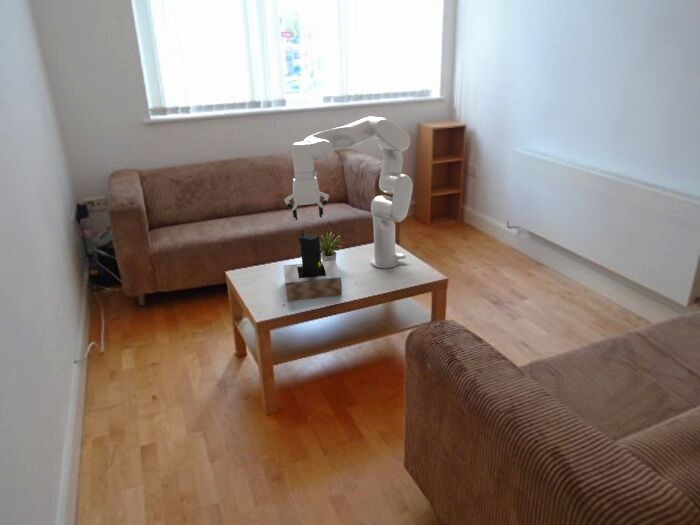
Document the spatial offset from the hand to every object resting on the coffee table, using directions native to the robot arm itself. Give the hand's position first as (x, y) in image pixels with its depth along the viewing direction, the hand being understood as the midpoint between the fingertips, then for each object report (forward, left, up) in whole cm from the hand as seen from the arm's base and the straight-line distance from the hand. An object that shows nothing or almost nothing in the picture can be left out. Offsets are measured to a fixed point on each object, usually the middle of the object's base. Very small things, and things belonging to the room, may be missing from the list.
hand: (308, 217), depth 204 cm
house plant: (-9, -21, -31) cm, 38 cm away
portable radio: (0, 0, -30) cm, 30 cm away
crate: (0, 0, -31) cm, 31 cm away
